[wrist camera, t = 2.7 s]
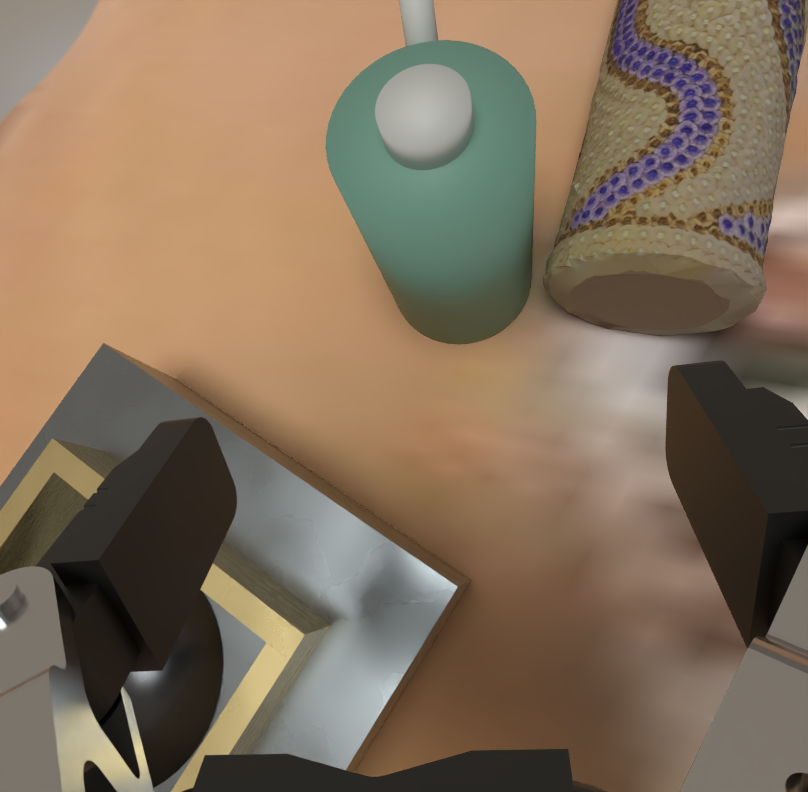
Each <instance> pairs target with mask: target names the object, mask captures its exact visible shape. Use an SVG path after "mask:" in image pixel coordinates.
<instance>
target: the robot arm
mask: <svg viewBox="0 0 808 792" xmlns="http://www.w3.org/2000/svg"><path fill="white" fill-rule="evenodd" d="M666 459H667V466H668V471H669V475H670V478H671V481H672V484H673V486H674V488H675V490H676V493H677V495H678V497H679V499H680V501H681V504H682V506H683V508H684V510H685V512H686V515H687V517H688V519H689V521H690V523H691V526H692V528H693V530H694V532H695V534H696V537H697V539H698V541H699V543H700V545H701V548H702V550H703V552H704V554H705V556H706V559H707V561H708V563H709V565H710V567H711V570H712V572H713V574H714V576H715V578H716V581H717V583H718V585H719V587H720V589H721V592H722V594H723V596H724V598H725V600H726V603H727V605H728V607H729V609H730V611H731V614H732V616H733V618H734V620H735V622H736V625H737V627H738V629H739V631H740V633H741V636H742V638H743V640H744V642H745V644H746V647H747V651H746V653H745V655H744V657H743V659H742V662H741V664H740V666H739V668H738V670H737V672H736V674H735V676H734V678H733V681H732V683H731V685H730V687H729V689H728V691H727V693H726V695H725V697H724V700H723V702H722V704H721V706H720V708H719V710H718V712H717V714H716V716H715V718H714V721H713V723H712V725H711V727H710V729H709V731H708V733H707V735H706V737H705V740H704V742H703V744H702V746H701V748H700V750H699V752H698V754H697V756H696V759H695V761H694V763H693V765H692V767H691V769H690V771H689V773H688V775H687V778H686V780H685V782H684V784H683V786H682V788H681V790H680V792H808V420H807V419H806V418H805V417H804V415H803V414H802V413H801V412H800V411H799V410H798V408H797V407H796V406H795V405H794V404H793V403H791V402H790V401H788V400H786V399H784V398H782V397H780V396H778V395H777V394H775V393H773V392H771V391H769V390H767V389H765V388H764V387H761V388H751V389H746V388H745V387H744V386H743V384H742V383H741V382H740V380H739V379H738V378H737V377H736V375H735V374H734V373H733V371H732V370H731V369H730V368H729V366H728V365H727V364H726V363H725V362H724V361H712V362H703V363H694V364H685V365H676V366H672V367H671V369H670V372H669V377H668V395H667V421H666ZM236 508H237V493H236V487H235V484H234V481H233V478H232V476H231V473H230V471H229V468H228V466H227V463H226V461H225V458H224V456H223V453H222V451H221V448H220V445H219V443H218V440H217V438H216V435H215V433H214V430H213V428H212V426H211V424H210V423H209V421H208V420H206V419H205V418H203V417H197V418H188V419H179V420H170V421H163V422H161V423H159V424H158V425H157V426H156V428H155V429H154V430H153V432H152V433H151V434H150V435H149V437H148V438H147V439H146V441H145V442H144V443H143V444H142V446H141V447H140V448H139V450H138V451H136V452H135V453H133V454H132V455H131V456H129V457H128V458H127V459H125V460H124V461H123V462H121V463H120V464H119V465H117V466H116V467H115V468H113V469H112V471H111V472H110V473H109V474H108V476H107V477H106V478H105V479H104V481H103V482H102V483H101V484H100V486H99V487H98V488H97V493H93V494H92V496H91V497H90V498H89V499H88V501H87V502H86V503H85V504H84V510H80V511H79V512H78V513H77V514H76V516H75V517H74V518H73V519H72V521H71V522H70V523H69V524H68V526H67V527H66V528H65V530H64V531H63V532H62V533H61V535H60V536H59V537H58V538H57V540H56V541H55V542H54V543H53V545H52V546H51V547H50V548H49V550H48V551H47V552H46V553H45V555H44V556H43V557H42V558H41V560H40V561H39V562H38V563H37V565H36V566H31V567H23V568H19V569H15V570H12V571H9V572H6V573H4V574H1V575H0V792H154V789H153V785H152V781H151V778H150V774H149V770H148V766H147V762H146V758H145V754H144V750H143V746H142V742H141V738H140V734H139V730H138V726H137V722H136V718H135V714H134V710H133V706H132V703H131V699H130V697H129V694H128V693H127V691H126V690H125V688H124V687H123V685H124V683H125V681H126V679H127V678H128V676H129V674H130V672H143V671H162V670H163V668H164V666H165V664H166V662H167V660H168V657H169V655H170V653H171V651H172V649H173V647H174V645H175V643H176V640H177V638H178V636H179V634H180V632H181V630H182V628H183V626H184V623H185V621H186V619H187V617H188V615H189V613H190V611H191V609H192V606H193V604H194V602H195V600H196V598H197V596H198V594H199V592H200V589H201V587H202V585H203V583H204V581H205V579H206V577H207V575H208V572H209V570H210V568H211V566H212V564H213V562H214V560H215V558H216V555H217V553H218V551H219V549H220V547H221V545H222V543H223V541H224V538H225V536H226V534H227V532H228V530H229V528H230V526H231V524H232V521H233V519H234V517H235V513H236ZM182 792H607V791H604V790H602V789H599V788H597V787H594V786H591V785H588V784H584V783H580V782H577V781H573V780H572V774H571V767H570V760H569V753H568V749H547V750H485V751H469V752H466V753H462V754H459V755H455V756H452V757H448V758H445V759H441V760H438V761H434V762H431V763H427V764H424V765H420V766H417V767H413V768H410V769H406V770H403V771H399V772H396V773H392V774H389V775H385V776H380V777H369V776H364V775H360V774H357V773H353V772H350V771H346V770H343V769H339V768H336V767H332V766H329V765H325V764H322V763H318V762H315V761H311V760H308V759H304V758H301V757H297V756H294V755H290V754H239V755H205V756H204V759H203V762H202V764H201V767H200V770H199V773H198V776H197V778H196V781H195V784H194V787H193V788H190V789H187V790H184V791H182Z"/></svg>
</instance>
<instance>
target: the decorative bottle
mask: <svg viewBox="0 0 808 792" xmlns="http://www.w3.org/2000/svg"><path fill="white" fill-rule="evenodd" d="M807 26H808V0H618V3H617V6H616V10H615V13H614V17H613V21H612V25H611V29H610V33H609V37H608V41H607V45H606V48H605V52H604V56H603V59H602V63H601V67H600V77H599V80H598V83H597V86H596V90H595V92H594V95H593V98H592V103H591V110H590V114H589V119H588V124H587V129H586V133H585V137H584V140H583V144H582V148H581V152H580V154H579V159H578V163H577V167H576V170H575V174H574V178H573V183H572V186H571V191H570V194H569V197H568V200H567V204H566V207H565V211H564V214H563V217H562V221H561V224H560V229H559V233H558V235H557V237H556V241H555V246H554V250H553V252H552V253H551V255H550V257H549V258H548V260H547V266H546V274H545V275H544V277H543V283H544V286H545V288H546V290H547V291H548V292H549V294H550V295H551V296H552V298H553V299H554V300H555V301H556V302H557V303H558V304H559V305H560V306H562V307H563V308H564V309H565V310H566V311H567V312H568V313H569V314H575V315H577V316H578V317H580V318H582V319H584V320H586V321H588V322H591V323H594V324H597V325H599V326H602V327H605V328H609V329H618V330H624V331H630V332H637V333H645V334H653V335H676V334H691V333H704V332H712V331H719V330H722V329H725V328H729V327H732V326H733V325H734V324H736V323H737V322H739V321H740V320H742V319H743V318H745V317H747V316H748V315H750V314H752V313H753V312H755V311H756V309H757V307H758V305H759V303H760V302H761V300H762V298H763V295H764V293H765V291H766V282H765V278H764V274H763V270H762V266H763V260H764V255H765V250H766V245H767V243H768V231H769V226H770V223H771V218H772V210H773V200H774V193H775V188H776V183H777V178H778V173H779V169H780V164H781V160H782V155H783V151H784V142H785V137H786V132H787V128H788V123H789V118H790V111H791V107H792V104H793V101H794V97H795V94H796V87H797V74H798V69H799V65H800V60H801V56H802V52H803V49H804V45H805V41H806V30H807Z"/></svg>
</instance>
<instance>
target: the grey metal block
mask: <svg viewBox="0 0 808 792" xmlns="http://www.w3.org/2000/svg"><path fill="white" fill-rule="evenodd" d="M197 417H203V418H205V419H206V420H208V421H209V423H210V424H211V426H212V428H213V430H214V433H215V435H216V438H217V440H218V443H219V445H220V448H221V451H222V453H223V456H224V458H225V461H226V463H227V466H228V468H229V471H230V473H231V476H232V478H233V481H234V484H235V487H236V493H237V508H236V513H235V517H234V519H233V521H232V524H231V526H230V528H229V530H228V532H227V534H226V536H225V538H224V541H223V543H222V545H221V547H220V549H219V551H218V553H217V555H216V558H215V560H214V562H213V564H212V566H211V568H210V570H209V572H208V575H207V577H206V579H205V581H204V583H203V585H202V587H201V589H200V592H199V594H198V596H197V598H196V600H195V602H194V604H193V606H192V609H191V611H190V613H189V615H188V617H187V619H186V621H185V623H184V626H183V628H182V630H181V632H180V634H179V636H178V638H177V640H176V643H175V645H174V647H173V649H172V651H171V653H170V655H169V657H168V660H167V662H166V664H165V666H164V668H163V670H162V671H143V672H130V674H129V676H128V678H127V679H126V681H125V683H124V685H123V687H124V688H125V690H126V691H127V693H128V694H129V697H130V699H131V703H132V706H133V710H134V714H135V718H136V722H137V726H138V730H139V734H140V738H141V742H142V746H143V750H144V754H145V758H146V762H147V766H148V770H149V774H150V778H151V781H152V785H153V789H154V792H182V791H184V790H187V789H190V788H193V787H194V784H195V781H196V778H197V776H198V773H199V770H200V767H201V764H202V762H203V759H204V756H205V755H239V754H290V755H294V756H297V757H301V758H304V759H308V760H311V761H315V762H318V763H322V764H325V765H329V766H332V767H336V768H339V769H343V770H346V771H350V772H353V773H354V771H355V769H356V768H357V766H358V765H359V763H360V761H361V760H362V758H363V756H364V755H365V753H366V751H367V750H368V748H369V746H370V745H371V743H372V742H373V740H374V738H375V737H376V735H377V733H378V732H379V730H380V728H381V727H382V725H383V724H384V722H385V720H386V719H387V717H388V715H389V714H390V712H391V710H392V709H393V707H394V705H395V704H396V702H397V701H398V699H399V697H400V696H401V694H402V692H403V691H404V689H405V687H406V686H407V684H408V683H409V681H410V679H411V678H412V676H413V674H414V673H415V671H416V669H417V668H418V666H419V664H420V663H421V661H422V660H423V658H424V656H425V655H426V653H427V651H428V650H429V648H430V646H431V645H432V643H433V642H434V640H435V638H436V637H437V635H438V633H439V632H440V630H441V628H442V627H443V625H444V624H445V622H446V620H447V619H448V617H449V615H450V614H451V612H452V610H453V609H454V607H455V605H456V604H457V602H458V601H459V599H460V597H461V596H462V594H463V592H464V591H465V589H466V587H467V586H468V584H469V583H470V581H471V580H470V579H468V578H467V577H465V576H464V575H462V574H461V573H459V572H458V571H456V570H455V569H454V568H452V567H451V566H449V565H448V564H446V563H445V562H443V561H442V560H440V559H439V558H437V557H436V556H434V555H433V554H431V553H430V552H429V551H427V550H426V549H424V548H423V547H421V546H420V545H418V544H417V543H415V542H414V541H412V540H411V539H409V538H408V537H406V536H405V535H404V534H402V533H401V532H399V531H398V530H396V529H395V528H393V527H392V526H390V525H389V524H387V523H386V522H384V521H383V520H381V519H380V518H379V517H377V516H376V515H374V514H373V513H371V512H370V511H368V510H367V509H365V508H364V507H362V506H361V505H359V504H358V503H356V502H355V501H354V500H352V499H351V498H349V497H348V496H346V495H345V494H343V493H342V492H340V491H339V490H337V489H336V488H334V487H333V486H331V485H330V484H329V483H327V482H326V481H324V480H323V479H321V478H320V477H318V476H317V475H315V474H314V473H312V472H311V471H309V470H308V469H306V468H305V467H304V466H302V465H301V464H299V463H298V462H296V461H295V460H293V459H292V458H290V457H289V456H287V455H286V454H284V453H283V452H281V451H280V450H279V449H277V448H276V447H274V446H273V445H271V444H270V443H268V442H267V441H265V440H264V439H262V438H261V437H259V436H258V435H256V434H255V433H254V432H252V431H251V430H249V429H248V428H246V427H245V426H243V425H242V424H240V423H239V422H237V421H236V420H234V419H233V418H231V417H230V416H229V415H227V414H226V413H224V412H223V411H221V410H220V409H218V408H217V407H215V406H214V405H212V404H211V403H209V402H208V401H206V400H205V399H204V398H202V397H201V396H199V395H198V394H196V393H195V392H193V391H192V390H190V389H189V388H187V387H186V386H184V385H183V384H181V383H180V382H179V381H177V380H176V379H174V378H172V377H170V376H168V375H166V374H164V373H162V372H160V371H158V370H156V369H154V368H152V367H150V366H148V365H146V364H144V363H142V362H140V361H138V360H136V359H134V358H132V357H130V356H128V355H126V354H124V353H122V352H120V351H118V350H116V349H114V348H112V347H110V346H108V345H106V344H104V343H103V345H102V346H101V347H100V349H99V350H98V351H97V353H96V354H95V356H94V357H93V358H92V360H91V361H90V363H89V364H88V365H87V367H86V368H85V370H84V371H83V372H82V374H81V375H80V377H79V378H78V379H77V381H76V382H75V383H74V385H73V386H72V388H71V389H70V390H69V392H68V393H67V395H66V396H65V397H64V399H63V400H62V402H61V403H60V404H59V406H58V407H57V409H56V410H55V411H54V413H53V414H52V416H51V417H50V418H49V420H48V421H47V422H46V424H45V425H44V427H43V428H42V429H41V431H40V432H39V434H38V435H37V436H36V438H35V439H34V441H33V442H32V443H31V445H30V446H29V448H28V449H27V450H26V452H25V453H24V454H23V456H22V457H21V459H20V460H19V461H18V463H17V464H16V466H15V467H14V468H13V470H12V471H11V473H10V474H9V475H8V477H7V478H6V480H5V481H4V482H3V484H2V485H1V487H0V575H1V574H4V573H6V572H9V571H12V570H15V569H19V568H23V567H31V566H36V565H37V563H38V562H39V561H40V560H41V558H42V557H43V556H44V555H45V553H46V552H47V551H48V550H49V548H50V547H51V546H52V545H53V543H54V542H55V541H56V540H57V538H58V537H59V536H60V535H61V533H62V532H63V531H64V530H65V528H66V527H67V526H68V524H69V523H70V522H71V521H72V519H73V518H74V517H75V516H76V514H77V513H78V512H79V511H80V510H84V504H85V503H86V502H87V501H88V499H89V498H90V497H91V496H92V494H93V493H97V488H98V487H99V486H100V484H101V483H102V482H103V481H104V479H105V478H106V477H107V476H108V474H109V473H110V472H111V471H112V469H113V468H115V467H116V466H117V465H119V464H120V463H121V462H123V461H124V460H125V459H127V458H128V457H129V456H131V455H132V454H133V453H135V452H136V451H138V450H139V448H140V447H141V446H142V444H143V443H144V442H145V441H146V439H147V438H148V437H149V435H150V434H151V433H152V432H153V430H154V429H155V428H156V426H157V425H158V424H159V423H161V422H163V421H170V420H179V419H188V418H197Z"/></svg>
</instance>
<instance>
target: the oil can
mask: <svg viewBox="0 0 808 792" xmlns="http://www.w3.org/2000/svg"><path fill="white" fill-rule="evenodd" d="M399 5H400V11H401V18H402V24H403V31H404V37H405V44H406V47H404V48H401V49H398V50H396V51H393V52H391V53H389V54H387V55H385V56H383V57H382V58H380V59H378V60H377V61H375V62H374V63H372V64H371V65H370V66H368V67H367V68H366V69H365V70H363V71H362V72H361V73H360V74H359V75H358V76H357V77H356V78H355V79H354V80H353V81H352V82H351V83H350V84H349V86H348V87H347V88H346V89H345V91H344V92H343V94H342V95H341V97H340V98H339V100H338V102H337V104H336V106H335V108H334V110H333V112H332V115H331V118H330V121H329V124H328V129H327V135H326V153H327V161H328V164H329V168H330V171H331V174H332V176H333V178H334V180H335V182H336V184H337V186H338V188H339V190H340V192H341V194H342V196H343V198H344V200H345V202H346V204H347V206H348V208H349V210H350V212H351V214H352V216H353V218H354V220H355V222H356V224H357V226H358V228H359V230H360V232H361V234H362V236H363V238H364V240H365V242H366V244H367V246H368V248H369V250H370V252H371V254H372V256H373V258H374V259H375V261H376V263H377V265H378V267H379V269H380V271H381V273H382V275H383V277H384V279H385V281H386V283H387V285H388V287H389V289H390V291H391V293H392V295H393V297H394V299H395V301H396V303H397V305H398V307H399V309H400V311H401V313H402V314H403V316H404V317H405V319H406V320H407V321H408V322H409V324H410V325H411V326H412V327H414V328H415V329H416V330H417V331H418V332H420V333H421V334H423V335H425V336H427V337H429V338H431V339H433V340H436V341H439V342H444V343H449V344H468V343H474V342H478V341H481V340H485V339H487V338H489V337H492V336H494V335H495V334H497V333H499V332H500V331H502V330H503V329H505V328H506V327H507V326H508V325H510V323H511V322H512V321H513V320H514V319H515V318H516V317H517V316H518V314H519V313H520V312H521V310H522V308H523V307H524V305H525V303H526V301H527V298H528V295H529V292H530V288H531V279H532V247H533V214H534V181H535V147H536V110H535V106H534V101H533V97H532V95H531V92H530V90H529V87H528V86H527V84H526V82H525V81H524V79H523V77H522V76H521V75H520V73H519V72H518V71H517V70H516V69H515V68H514V67H513V66H512V65H511V64H510V63H509V62H508V61H507V60H505V59H504V58H502V57H501V56H499V55H498V54H496V53H494V52H492V51H490V50H488V49H486V48H484V47H481V46H478V45H475V44H471V43H466V42H461V41H449V40H441V41H438V34H437V27H436V19H435V11H434V3H433V0H399Z"/></svg>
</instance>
